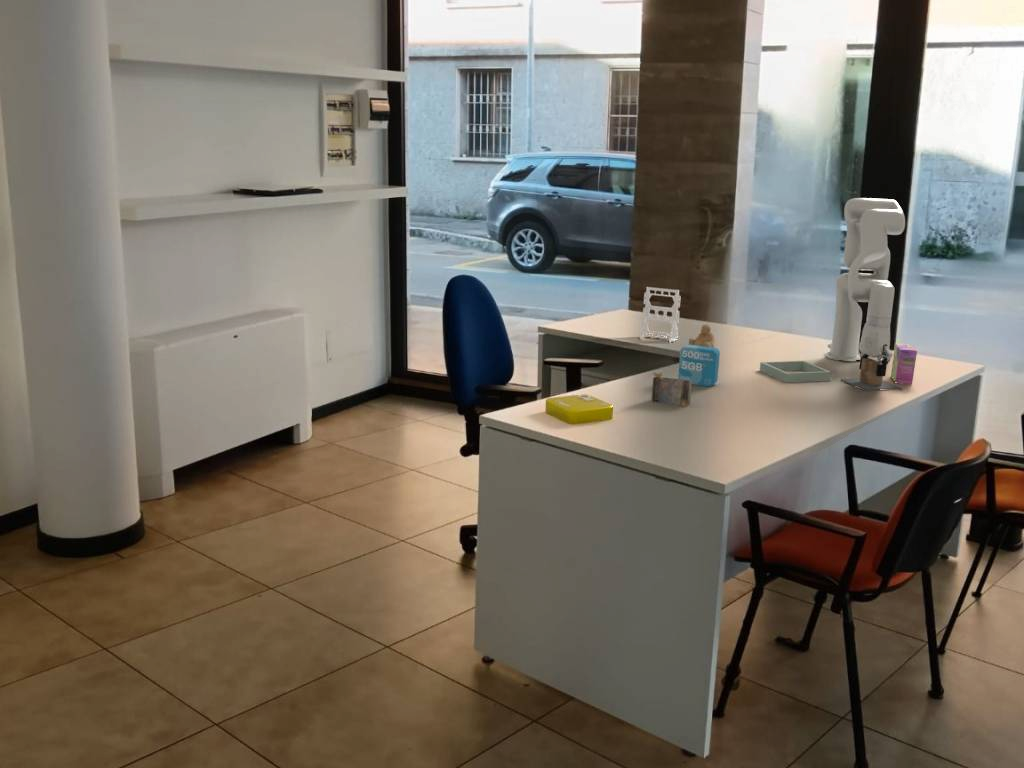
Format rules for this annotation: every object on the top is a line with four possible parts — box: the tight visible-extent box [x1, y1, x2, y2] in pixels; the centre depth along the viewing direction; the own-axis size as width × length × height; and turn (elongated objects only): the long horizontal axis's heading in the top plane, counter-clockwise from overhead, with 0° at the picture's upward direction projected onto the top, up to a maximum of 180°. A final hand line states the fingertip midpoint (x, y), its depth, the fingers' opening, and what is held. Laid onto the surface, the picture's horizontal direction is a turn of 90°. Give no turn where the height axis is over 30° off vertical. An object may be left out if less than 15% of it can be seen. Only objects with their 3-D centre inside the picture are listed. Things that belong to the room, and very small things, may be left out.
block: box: [859, 357, 884, 385], centre depth 349 cm, size 5×5×8 cm
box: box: [890, 342, 918, 385], centre depth 356 cm, size 10×6×12 cm, turn 168°
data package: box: [677, 344, 721, 388], centre depth 342 cm, size 12×4×12 cm, turn 65°
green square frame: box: [759, 360, 832, 383], centre depth 359 cm, size 17×17×3 cm
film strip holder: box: [640, 286, 682, 342], centre depth 410 cm, size 14×14×20 cm
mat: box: [839, 377, 903, 391], centre depth 350 cm, size 14×14×1 cm
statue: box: [687, 323, 715, 348], centre depth 379 cm, size 12×14×10 cm
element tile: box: [544, 393, 614, 425], centre depth 301 cm, size 15×15×5 cm
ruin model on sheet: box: [650, 372, 693, 407], centre depth 317 cm, size 11×3×10 cm, turn 69°
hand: (872, 372), depth 349 cm, fingers open, 8 cm apart
